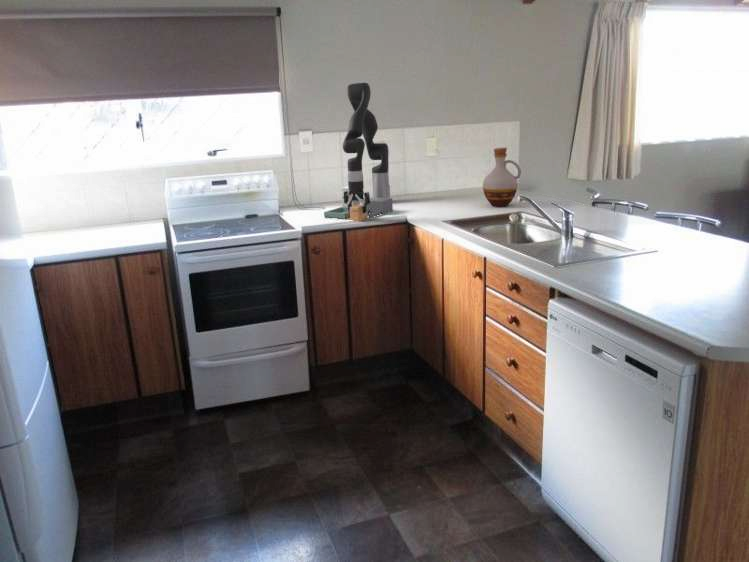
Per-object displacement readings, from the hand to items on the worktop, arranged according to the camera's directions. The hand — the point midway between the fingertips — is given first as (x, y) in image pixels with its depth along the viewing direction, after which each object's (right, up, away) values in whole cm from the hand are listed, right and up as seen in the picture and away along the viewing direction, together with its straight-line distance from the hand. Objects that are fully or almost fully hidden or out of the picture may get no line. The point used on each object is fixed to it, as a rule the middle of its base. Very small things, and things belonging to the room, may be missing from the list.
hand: (357, 212), depth 316 cm
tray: (-8, 0, +13) cm, 15 cm away
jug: (+76, +5, +19) cm, 78 cm away
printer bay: (+8, 0, +13) cm, 15 cm away
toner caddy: (+1, -3, +2) cm, 4 cm away
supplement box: (-4, +4, +28) cm, 29 cm away
